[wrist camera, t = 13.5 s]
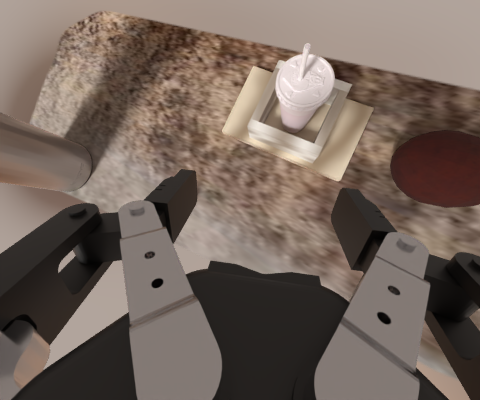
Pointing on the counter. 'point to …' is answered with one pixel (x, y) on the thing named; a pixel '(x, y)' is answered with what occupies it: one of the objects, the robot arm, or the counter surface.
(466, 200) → the potato
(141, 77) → the counter surface
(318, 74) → the smoothie
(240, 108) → the dock
